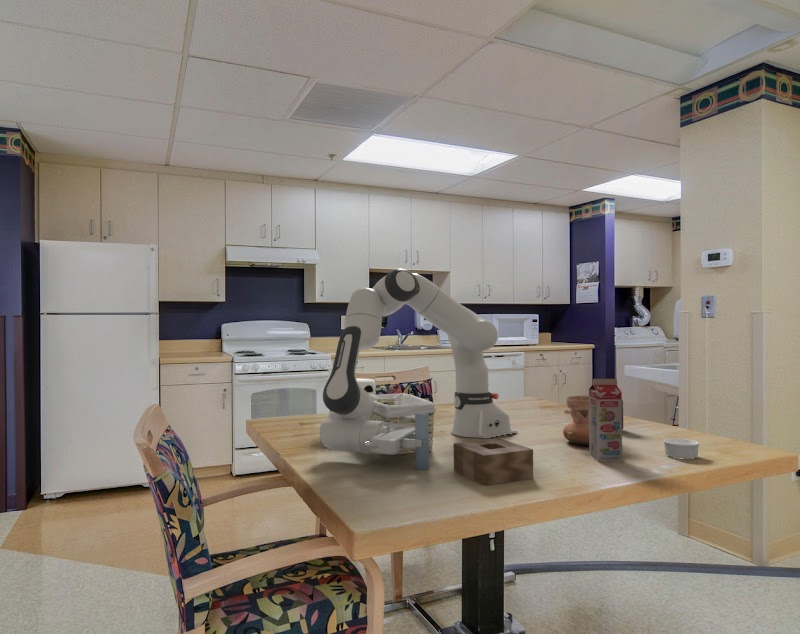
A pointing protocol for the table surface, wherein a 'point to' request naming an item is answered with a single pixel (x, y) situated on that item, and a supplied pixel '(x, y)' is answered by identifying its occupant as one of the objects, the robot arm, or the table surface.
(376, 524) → the table surface
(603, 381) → the juice carton
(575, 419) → the ceramic jug
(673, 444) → the ramekin
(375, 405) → the storage basket
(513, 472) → the socket block
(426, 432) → the dowel
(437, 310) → the robot arm
